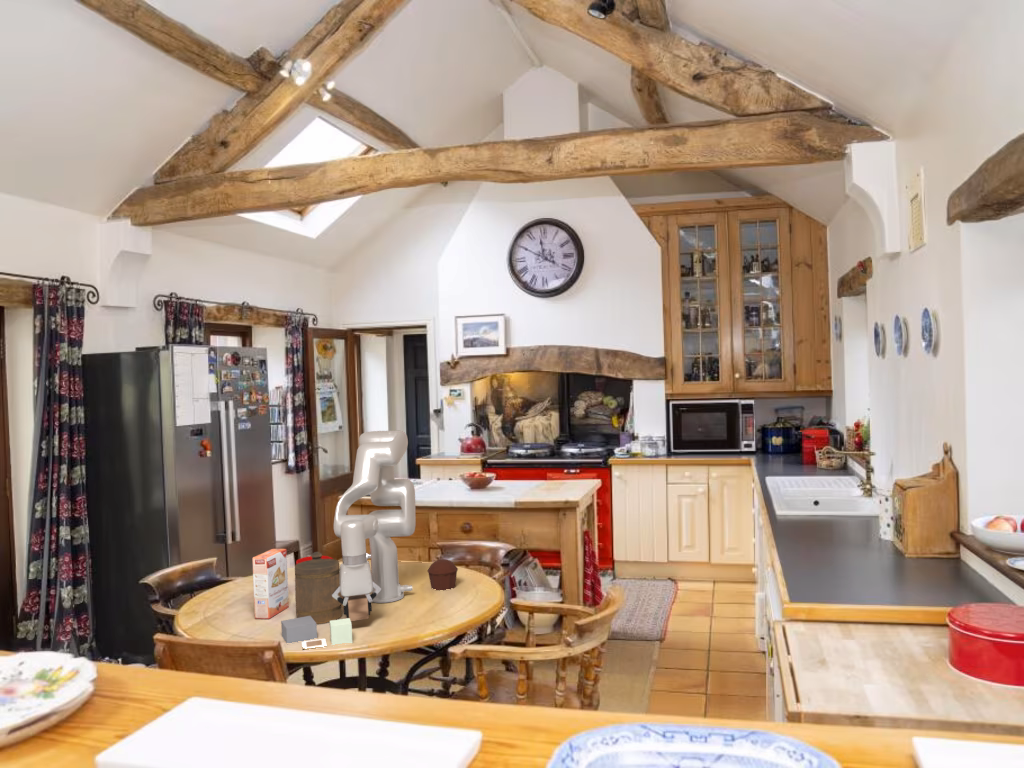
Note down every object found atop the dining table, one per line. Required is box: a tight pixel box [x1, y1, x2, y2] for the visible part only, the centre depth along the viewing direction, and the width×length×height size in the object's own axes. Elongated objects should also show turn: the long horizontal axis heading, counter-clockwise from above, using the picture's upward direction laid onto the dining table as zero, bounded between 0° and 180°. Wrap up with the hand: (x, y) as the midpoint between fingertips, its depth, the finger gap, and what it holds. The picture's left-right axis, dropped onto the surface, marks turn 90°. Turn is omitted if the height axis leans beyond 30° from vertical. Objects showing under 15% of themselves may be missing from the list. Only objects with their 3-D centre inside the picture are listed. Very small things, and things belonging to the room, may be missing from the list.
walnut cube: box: [347, 595, 370, 622], centre depth 251 cm, size 6×6×6 cm
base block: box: [280, 616, 318, 644], centre depth 244 cm, size 9×9×5 cm
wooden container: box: [294, 551, 343, 625], centre depth 263 cm, size 15×15×22 cm
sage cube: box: [329, 617, 353, 646], centre depth 238 cm, size 6×6×6 cm
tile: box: [301, 637, 328, 649], centre depth 236 cm, size 7×7×1 cm
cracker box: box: [251, 548, 290, 620], centre depth 271 cm, size 14×6×21 cm, turn 168°
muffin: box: [427, 558, 459, 591], centre depth 294 cm, size 12×11×10 cm
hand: (357, 614), depth 251 cm, fingers closed on walnut cube, 6 cm apart
